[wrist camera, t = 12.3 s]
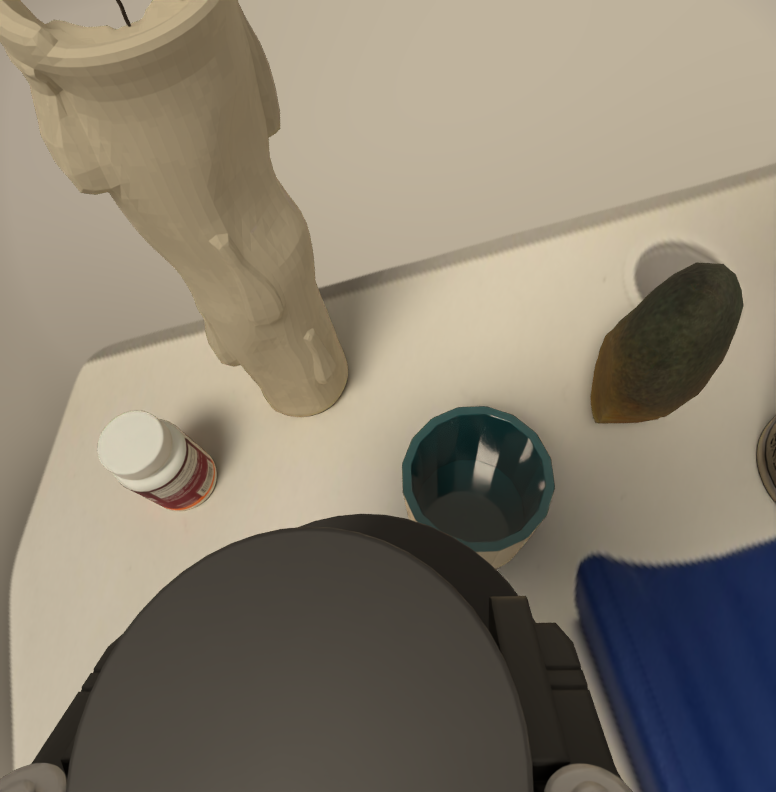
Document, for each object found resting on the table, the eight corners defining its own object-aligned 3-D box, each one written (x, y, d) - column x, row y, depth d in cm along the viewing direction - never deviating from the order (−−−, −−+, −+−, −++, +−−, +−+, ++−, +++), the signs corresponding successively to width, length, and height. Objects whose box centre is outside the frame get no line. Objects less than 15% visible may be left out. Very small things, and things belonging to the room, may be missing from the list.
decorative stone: (622, 340, 44) (707, 197, 30) (694, 391, 41) (820, 261, 28) (539, 429, 41) (590, 317, 28) (611, 487, 39) (704, 397, 26)
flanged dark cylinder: (528, 525, 17) (615, 403, 9) (574, 944, 13) (801, 1404, 5) (213, 532, 18) (26, 423, 10) (167, 935, 14) (-221, 1336, 6)
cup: (522, 454, 41) (543, 403, 32) (536, 572, 37) (563, 549, 29) (408, 458, 41) (400, 409, 33) (411, 575, 38) (404, 553, 30)
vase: (255, 440, 43) (-73, 56, 15) (238, 342, 46) (-53, -111, 19) (368, 409, 43) (244, -21, 16) (343, 315, 46) (206, -172, 19)
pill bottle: (141, 476, 42) (76, 437, 34) (196, 436, 43) (144, 389, 35) (174, 527, 40) (112, 497, 33) (231, 483, 41) (184, 445, 34)
